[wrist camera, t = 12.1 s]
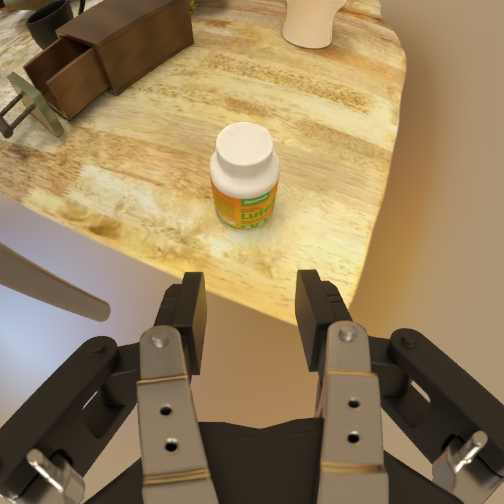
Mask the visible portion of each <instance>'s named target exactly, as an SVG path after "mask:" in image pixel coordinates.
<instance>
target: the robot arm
mask: <svg viewBox="0 0 504 504" xmlns="http://www.w3.org/2000/svg"><path fill="white" fill-rule="evenodd" d="M295 315H296V319H297V323H298V327H299V332H300V336H301V340H302V343H303V348H304V352H305V356H306V361H307V365H308V369H309V372H315V371H318V374H319V379H318V384H317V393H316V404H315V413H314V418H306V419H296V420H292V421H289V422H285V423H282V424H278V425H274V426H270V427H267V428H263V429H257V428H251V427H246V426H240V425H235V424H230V423H225V422H198V419H197V414H196V410H195V405H194V401H193V396H192V391H191V387H190V384H191V378H192V375H200V368H201V360H202V351H203V343H204V335H205V327H206V319H207V302H206V292H205V281H204V273H203V272H185V274H184V278H183V281H182V284H172V286H170V287H169V288H168V289H167V290H166V291H165V294H164V297H163V300H162V302H161V307H160V308H159V311H158V314H157V317H156V320H155V323H154V326H153V327H152V328H150V329H148V330H146V331H145V332H144V333H143V334H142V336H141V337H140V342H138V343H135V344H130V345H124V346H119V347H117V344H116V342H115V340H113V339H112V338H110V337H107V336H97V337H93V338H91V339H89V340H87V341H86V342H84V343H83V344H82V345H81V346H80V347H79V348H78V349H77V350H76V351H75V352H74V353H73V354H72V355H71V356H70V357H69V358H68V359H67V360H66V361H65V362H64V363H63V364H62V365H61V366H60V367H59V368H58V369H57V370H56V371H55V372H54V373H53V374H52V375H51V376H50V377H49V378H48V379H47V380H46V381H45V382H44V383H43V384H42V385H41V386H40V387H39V388H38V389H37V390H36V391H35V393H33V394H32V395H31V397H30V398H29V399H28V400H27V401H26V402H25V403H24V404H23V405H22V406H21V407H20V408H19V409H18V410H17V411H16V412H15V413H14V415H12V417H11V418H10V419H9V420H8V421H7V422H6V423H5V424H4V425H3V426H2V427H1V429H0V496H1V497H2V498H4V499H5V500H6V501H8V502H9V503H10V504H80V502H82V500H83V499H84V492H85V483H84V480H83V477H84V475H85V474H86V473H87V471H88V470H89V469H90V467H91V466H92V464H93V463H94V462H95V460H96V459H97V458H98V456H99V455H100V453H101V452H102V451H103V450H104V448H105V447H106V445H107V444H108V443H109V441H110V440H111V439H112V437H113V436H114V434H115V433H116V432H117V430H118V429H119V428H120V426H121V425H122V424H123V422H124V421H125V419H126V418H127V417H128V415H129V414H130V413H131V411H132V410H133V409H134V407H135V405H136V403H137V407H138V408H137V409H138V423H139V438H140V449H141V458H139V459H138V460H137V461H136V462H135V463H133V464H132V465H131V466H130V467H129V468H127V469H126V470H125V471H124V472H123V473H121V474H120V475H119V476H118V477H117V478H115V479H114V480H113V481H111V482H110V483H109V484H108V485H106V486H105V487H104V488H103V489H101V490H100V491H99V492H97V493H96V494H95V495H94V496H93V497H91V498H90V499H88V500H87V501H86V502H84V503H83V504H483V503H484V502H485V501H486V500H487V499H488V498H489V497H490V496H491V495H492V494H493V492H494V491H495V490H496V489H497V488H498V487H499V486H501V485H502V484H503V483H504V405H503V404H502V403H501V402H499V401H498V400H497V399H496V398H495V397H494V396H493V395H492V394H491V393H490V392H488V391H487V390H486V389H485V388H484V387H483V386H482V385H481V384H479V383H478V382H477V381H476V380H475V379H474V378H473V377H471V376H470V375H469V374H468V373H467V372H466V371H465V370H463V369H462V368H461V367H460V366H458V364H457V363H455V362H454V361H453V360H452V359H451V358H450V357H448V356H447V355H446V354H445V353H444V352H443V351H441V350H440V349H439V348H438V347H436V346H435V345H434V344H433V343H432V342H431V341H429V340H428V339H427V338H426V337H425V336H424V335H422V334H421V333H419V332H418V331H415V330H413V329H407V328H402V329H398V330H396V331H394V332H393V333H392V335H391V337H390V339H385V338H376V337H371V336H368V334H367V331H366V329H365V328H364V327H363V326H361V325H359V324H358V323H355V322H353V320H352V318H351V316H350V314H349V312H348V310H347V308H346V305H345V303H344V302H343V299H342V297H341V296H340V293H339V291H338V289H337V287H336V286H335V285H333V284H332V283H331V282H330V281H321V280H320V277H319V275H318V273H317V270H316V269H313V270H298V272H297V281H296V295H295ZM412 381H415V383H417V384H418V385H419V386H420V387H421V388H422V389H423V390H424V391H425V392H426V393H427V394H428V396H429V398H430V403H429V402H428V401H427V400H426V399H425V398H424V397H423V396H422V395H421V394H420V393H419V392H418V391H417V390H416V389H415V388H414V387H413V386H412V385H411V383H412ZM96 391H97V393H96V395H95V396H94V397H93V398H92V399H91V401H90V402H89V403H88V404H87V405H86V407H85V408H84V409H83V407H84V405H85V404H86V403H87V402H88V400H89V399H90V398H91V397H92V396H93V395H94V393H95V392H96ZM381 407H382V408H383V410H384V411H385V412H386V413H387V414H388V415H389V416H390V418H391V419H392V420H393V421H394V422H395V423H396V424H397V425H398V426H399V428H400V429H401V430H402V431H403V432H404V433H405V434H406V436H407V437H408V438H409V439H410V440H411V441H412V442H413V443H414V444H415V446H416V447H417V448H418V449H419V450H420V451H421V452H422V454H423V455H424V456H425V457H426V458H427V459H428V460H429V461H430V463H431V464H432V465H433V466H432V474H433V482H432V481H430V480H429V479H427V478H426V477H424V476H423V475H421V474H419V473H418V472H416V471H415V470H413V469H412V468H410V467H409V466H407V465H406V464H404V463H402V462H401V461H400V460H398V459H397V458H395V457H394V456H392V455H391V454H389V453H388V452H386V451H385V450H383V432H382V415H381ZM82 409H83V410H82Z"/></svg>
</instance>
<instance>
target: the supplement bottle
mask: <svg viewBox="0 0 504 504" xmlns="http://www.w3.org/2000/svg"><path fill="white" fill-rule="evenodd" d="M273 149H274V141H273V138H272V136H271V134H270V133H269V131H268V130H267V129H265V128H264V127H263V126H261V125H259V124H256V123H252V122H237V123H233V124H230V125H228V126H227V127H225V128H224V129H223V130H222V131H221V132H220V133H219V135H218V136H217V139H216V150H215V152H214V153H213V155H212V157H211V160H210V165H209V170H210V179H211V185H212V191H213V196H214V203H215V209H216V213H217V215H218V217H219V219H220V220H221V222H222V223H223V224H224V225H226V226H227V227H228V228H230V229H233V230H235V231H240V232H249V231H253V230H256V229H258V228H260V227H262V226H263V225H264V224H265V223H266V222H267V221H268V220H269V218H270V217H271V214H272V211H273V207H274V202H275V196H276V191H277V186H278V180H279V175H280V162H279V158H278V156H277V154H276V152H275V151H274V150H273Z"/></svg>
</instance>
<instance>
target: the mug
mask: <svg viewBox="0 0 504 504" xmlns="http://www.w3.org/2000/svg"><path fill="white" fill-rule="evenodd" d="M71 1H72V0H57V1H54V2H52V3H49V4H48V5H46V6H44V7H42V8H41V9H39V10H38V11H36V12H35V13H34V14H32V15H31V16H30V17H29V18H28V19H27V21H26V25H27V27H28V29H29V32H30V34H31V36H32V37H33V39H34V40H35V42H36V43H37V44H38V45H39V46H40V47H41V48H42V49H43V50H44V49H46V48H47V47H48V46H50V45H51V44H52V43H54V42H55V41H56V40H58V39H59V38H58V36H57V34H56V32H55V30H57V29H58V28H60V27H61V26H63V25H64V24H66V23H67V22H69V21H70V20H72V19H73V18H74V17H73V12H72V9H71V7H70V4H69V3H70V2H71ZM84 7H85V0H80V7H79V13H78V15H80V14H81V13H83V12H84Z"/></svg>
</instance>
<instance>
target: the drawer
mask: <svg viewBox="0 0 504 504" xmlns="http://www.w3.org/2000/svg"><path fill="white" fill-rule="evenodd" d="M23 69H24V71H25V72H26V74H27V76H28V77H29V79H30V81H31V83H32V84H33V86H34V87H33V86H32V85H31V84H29V83H28V82H27V81H25V80H24V79H23V78H21V77H20V76H19V75H17V74H16V73H15V72H12V73H11V74H10V75H8V76H7V79H8V80H9V82H10V83H11V85H12V86H13V88H14V90H15V91H16V93H17V94H18V96H17V97H16V98H15V99H13V100H12V101H11V102H10V103H9V104H8V105H7V106H6V107H5V108H4V109H3V110H2V111H1V112H0V132H1V133H2V135H3V136H4V137H5V138H10V137H11V136H12V134H13V129H14V128H15V127H16V126H17V125H18V124H19V123H20V122H21V121H22V120H23V119H24V118H25V117H27V116H28V115H29V114H30V113H32V114H33V115H34V116H35V117H36V118H37V119H38V120H40V121H41V122H42V123H43V124H44V125H45V126H46V127H47V128H48V129H49V130H50V131H52V132H53V133H54V134H55V135H56V136H57V137H59V136H60V135H61V134H62V133H63V132H64V131H65V130H64V129H63V127H62V126H61V124H60V122H59V121H58V119H57V118H56V116H55V114H54V113H53V111H52V110H51V108H50V106H52V107H53V108H54V109H55V110H57V111H58V112H59V113H61V114H62V115H63V116H64V117H66V118H67V119H68V120H70V119H71V118H72V117H74V116H75V115H76V114H77V113H78V112H79V111H80V110H82V109H83V108H84V107H85V106H86V105H87V104H89V103H90V102H91V101H92V100H93V99H95V98H96V97H97V96H98V95H100V94H101V93H102V92H103V91H105V90H106V89H107V88H109V87H110V85H109V82H108V80H107V77H106V75H105V72H104V70H103V67H102V65H101V62H100V60H99V57H98V54H97V52H96V49H95V48H94V47H91V46H88V45H86V44H83V43H80V42H77V41H75V40H72V39H69V38H66V37H63V36H62V37H61V38H59V39H58V40H56V41H55V42H54V43H52V44H51V45H50V46H48V47H47V48H46V49H44V50H43V51H42V52H40V53H39V54H38V55H36V56H35V57H34V58H33V59H31V60H30V61H29V62H28V63H27V64H25V65H24V66H23ZM20 99H21V100H22V102H23V103H24V105H25V106H26V108H27V109H26V110H25V111H24V112H23V113H22V114H21V115H20V116H19V117H18V118H17V119H16V120H15V121H14V122H13V123H12V124H11V125H9V124H8V123H7V122H6V121H5V119H4V118H3V116H4V115H5V114H6V113H7V112H8V111H9V110H10V109H11V108H12V107H13V106H14V105H15V104H16V103H17V102H18V101H19V100H20ZM48 104H49V105H50V106H49V105H48ZM10 126H11V127H10Z"/></svg>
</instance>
